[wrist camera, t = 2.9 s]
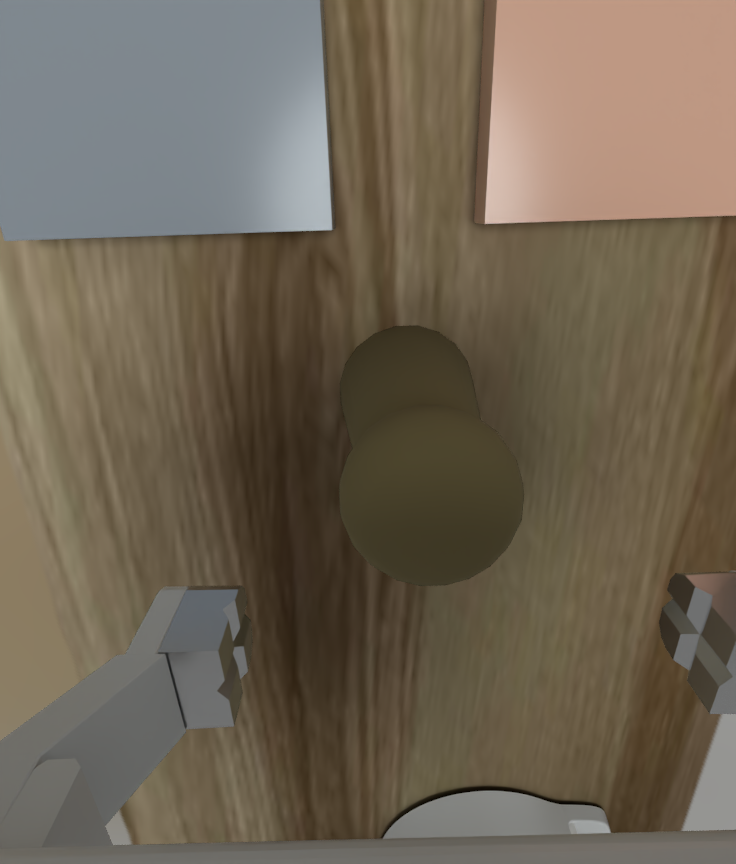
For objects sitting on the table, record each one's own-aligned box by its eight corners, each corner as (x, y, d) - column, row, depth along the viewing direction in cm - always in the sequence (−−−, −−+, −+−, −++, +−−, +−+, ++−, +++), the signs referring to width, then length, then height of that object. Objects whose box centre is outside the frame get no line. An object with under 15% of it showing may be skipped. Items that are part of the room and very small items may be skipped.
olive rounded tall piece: (437, 299, 22) (501, 375, 11) (494, 416, 24) (589, 568, 14) (314, 366, 23) (273, 488, 13) (378, 472, 25) (387, 650, 15)
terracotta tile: (777, 212, 20) (818, 212, 18) (474, 222, 20) (484, 223, 18) (889, -217, 16) (959, -275, 14) (493, -201, 16) (510, -256, 14)
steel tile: (335, 228, 20) (332, 230, 19) (37, 238, 21) (4, 240, 19) (313, -192, 16) (306, -246, 14) (-75, -177, 16) (-133, -228, 14)
